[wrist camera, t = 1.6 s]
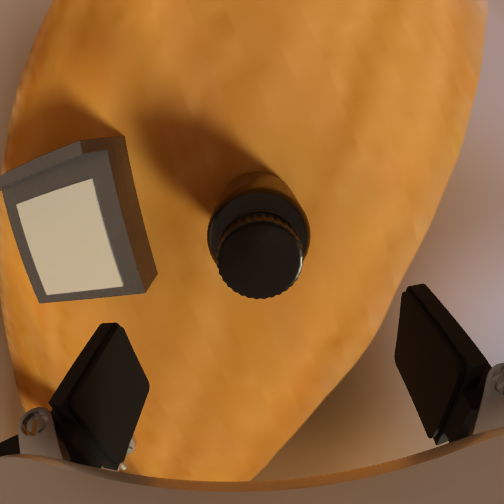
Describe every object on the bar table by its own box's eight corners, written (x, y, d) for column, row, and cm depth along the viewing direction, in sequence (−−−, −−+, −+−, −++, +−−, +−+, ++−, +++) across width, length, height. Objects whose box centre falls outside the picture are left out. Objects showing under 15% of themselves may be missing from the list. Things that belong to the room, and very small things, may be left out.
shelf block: (157, 273, 30) (130, 316, 23) (56, 286, 32) (20, 322, 24) (124, 136, 25) (79, 140, 18) (22, 173, 26) (-27, 189, 19)
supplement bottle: (223, 245, 29) (203, 316, 18) (216, 173, 27) (186, 203, 16) (297, 241, 29) (319, 310, 18) (294, 168, 26) (321, 194, 15)
